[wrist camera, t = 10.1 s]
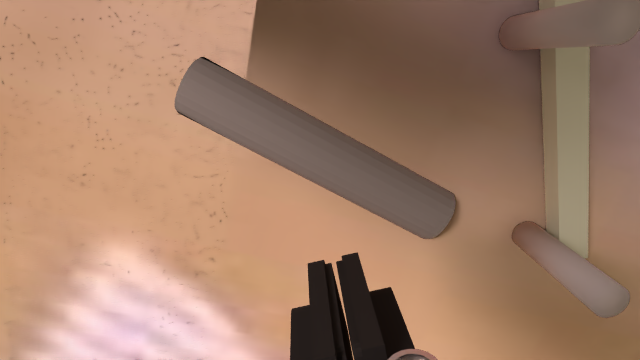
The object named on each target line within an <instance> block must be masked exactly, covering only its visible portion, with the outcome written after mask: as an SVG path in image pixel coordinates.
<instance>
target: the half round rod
mask: <svg viewBox="0 0 640 360" xmlns="http://www.w3.org/2000/svg"><path fill="white" fill-rule="evenodd" d="M175 109H176V110H177V112H178V113H179V114H181V115H183V116H185V117H187V118H189V119H191V120H193V121H195V122H197V123H199V124H201V125H203V126H205V127H207V128H209V129H210V130H212V131H214V132H216V133H218V134H220V135H222V136H224V137H226V138H228V139H230V140H232V141H234V142H236V143H238V144H240V145H242V146H244V147H246V148H248V149H249V150H251V151H253V152H255V153H257V154H259V155H261V156H263V157H265V158H267V159H269V160H271V161H273V162H275V163H277V164H279V165H281V166H283V167H285V168H287V169H288V170H290V171H292V172H294V173H296V174H298V175H300V176H302V177H304V178H306V179H308V180H310V181H312V182H314V183H316V184H318V185H320V186H322V187H324V188H326V189H327V190H329V191H331V192H333V193H335V194H337V195H339V196H341V197H343V198H345V199H347V200H349V201H351V202H353V203H355V204H357V205H359V206H361V207H363V208H364V209H366V210H368V211H370V212H372V213H374V214H376V215H378V216H380V217H382V218H384V219H386V220H388V221H390V222H392V223H394V224H396V225H398V226H400V227H402V228H403V229H405V230H407V231H409V232H411V233H413V234H415V235H417V236H419V237H421V238H423V239H431V238H434V237H436V236H437V235H439V234H440V233H441V232H442V231H443V230H444V229H445V227H446V226H447V225H448V223H449V221H450V220H451V218H452V216H453V213H454V211H455V205H456V201H455V196H454V194H453V193H451V192H450V191H448V190H446V189H444V188H442V187H440V186H439V185H437V184H435V183H433V182H431V181H430V180H428V179H426V178H424V177H422V176H420V175H419V174H417V173H415V172H413V171H411V170H409V169H408V168H406V167H404V166H402V165H400V164H398V163H397V162H395V161H393V160H391V159H389V158H388V157H386V156H384V155H382V154H380V153H378V152H377V151H375V150H373V149H371V148H369V147H367V146H366V145H364V144H362V143H360V142H358V141H356V140H355V139H353V138H351V137H349V136H347V135H346V134H344V133H342V132H340V131H338V130H336V129H335V128H333V127H331V126H329V125H327V124H325V123H324V122H322V121H320V120H318V119H316V118H314V117H313V116H311V115H309V114H307V113H305V112H304V111H302V110H300V109H298V108H296V107H294V106H293V105H291V104H289V103H287V102H285V101H283V100H282V99H280V98H278V97H276V96H274V95H272V94H271V93H269V92H267V91H265V90H263V89H262V88H260V87H258V86H256V85H254V84H252V83H251V82H249V81H247V80H245V79H243V78H241V77H240V76H238V75H236V74H234V73H232V72H230V71H229V70H227V69H225V68H223V67H221V66H220V65H218V64H216V63H214V62H212V61H210V60H209V59H207V58H205V57H200V58H199V59H197V60H195V61H194V62H193V63H192V64H191V66H190V67H189V68H188V70H187V72H186V73H185V75H184V77H183V79H182V81H181V83H180V86H179V88H178V91H177V94H176V98H175Z"/></svg>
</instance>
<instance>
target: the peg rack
mask: <svg viewBox="0 0 640 360" xmlns="http://www.w3.org/2000/svg"><path fill="white" fill-rule="evenodd" d="M639 29H640V0H539V10H538V11H534V12H529V13H524V14H520V15H515V16H512V17H510V18H508V19H507V20H506V21H505V22H504V23H503V24H502V26H501V28H500V31H499V40H500V42H501V44H502V46H503V47H504V48H506V49H508V50H527V49H540V57H541V89H542V120H543V151H544V183H545V214H546V231H545V230H544V229H542V228H541V227H540V226H538V225H537V224H535V223H534V222H531V221H525V222H522V223H520V224H518V225H517V226H516V227H515V228H514V230H513V232H512V239H513V241H514V243H515V244H517V245H518V246H519V247H520V248H521V249H522V250H523V251H524V252H526V253H527V254H528V255H529V256H530V257H531V258H532V259H534V260H535V261H536V262H537V263H538V264H539V265H540V266H541V267H543V268H544V269H545V270H546V271H547V272H548V273H549V274H551V275H552V276H553V277H554V278H555V279H556V280H557V281H559V282H560V283H561V284H562V285H563V286H564V287H565V288H566V289H568V290H569V291H570V292H571V293H572V294H573V295H574V296H576V297H577V298H578V299H579V300H580V301H581V302H582V303H583V304H585V305H586V306H587V307H588V308H589V309H590V310H591V311H593V312H594V313H595V314H596V315H597V316H600V317H604V318H608V317H613V316H616V315H618V314H619V313H621V312H622V311H623V310H624V309H625V308H626V307H627V305H628V304H629V301H630V294H629V291H628V290H627V289H626V288H625V287H623V286H622V285H620V284H619V283H618V282H616V281H615V280H613V279H612V278H611V277H609V276H608V275H606V274H605V273H604V272H602V271H601V270H600V269H598V268H597V267H595V266H594V265H593V264H591V263H590V262H588V261H587V260H586V259H585V258H588V207H589V82H590V46H611V45H620V44H623V43H625V42H627V41H629V40H630V39H631V38H632V37H634V36H635V34H636V33H637V32H638V31H639Z"/></svg>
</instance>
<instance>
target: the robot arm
mask: <svg viewBox="0 0 640 360" xmlns="http://www.w3.org/2000/svg"><path fill="white" fill-rule="evenodd" d="M336 264H337V269H338V275H339V280H340V286H341V291H342V297H343V302H344V308H345V313H346V319H347V324H348V330H349V334H348V330H347V325H346V321H345V317H344V313H343V309H342V305H341V301H340V297H339V292H338V288H337V284H336V280H335V276H334V272H333V268H332V264H331V263H328V264H325V262H324V260H321V261H317V262H312V263H308V280H309V301H310V305H307V306H302V307H298V308H293V309H292V311H291V347H290V360H353V356H354V360H438V359H437V358H436V357H435V356H433V355H432V354H430V353H428V352H426V351H423V350H419V349H415V348H414V345H413V342H412V340H411V337H410V335H409V332H408V330H407V327H406V324H405V322H404V319H403V317H402V314H401V312H400V309H399V306H398V304H397V301H396V299H395V296H394V294H393V291H392V289H391V287H388V288H384V289H379V290H375V291H370V292H369V290H368V286H367V283H366V280H365V276H364V273H363V269H362V266H361V263H360V259H359V256H358V253H353V254H348V255H344V256H342V261H337V262H336ZM349 335H350V339H349ZM350 341H351V345H350ZM351 346H352V351H353V356H352V351H351Z"/></svg>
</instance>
